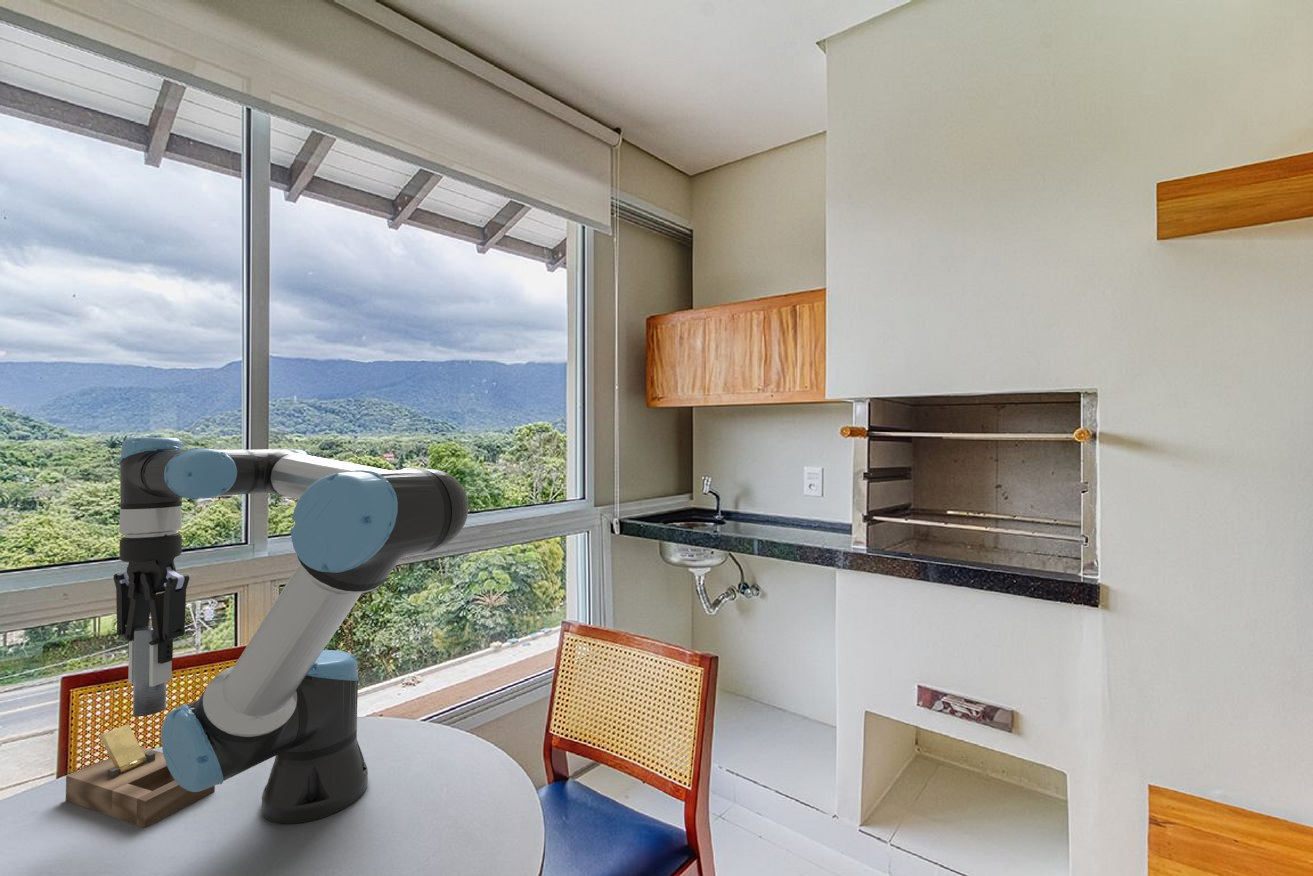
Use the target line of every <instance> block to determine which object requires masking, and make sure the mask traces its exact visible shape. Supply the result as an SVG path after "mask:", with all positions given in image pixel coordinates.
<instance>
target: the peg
mask: <svg viewBox="0 0 1313 876" xmlns="http://www.w3.org/2000/svg"><path fill="white" fill-rule="evenodd" d="M162 634H163V633H162ZM151 641H154V635H153V628H152V625H148V626H146V627H142V628H138V629H136V630H134V667H133V683H132V685H133V686H132V716H133V717H138V718H139V717H145V716H147V717H148V716H151V715H155V714H158V713H160V712H163V711H164V710H166V708H167V683H168V681H167V682H165V683H162V684H159V685H156V686H153V687H152V686H149V668H150V644H149V642H151Z"/></svg>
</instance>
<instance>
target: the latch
mask: <svg viewBox="0 0 1313 876" xmlns="http://www.w3.org/2000/svg"><path fill="white" fill-rule="evenodd" d="M99 738H100V740H101V742H102V744H103V746H104V749H105V750H106V751H107V754H108V757H109V758H111V760H112V762H113V764H114V766H115V768H118V769H119V770H118V773H119V774H120V773H122V772H125V771H127V770H129V769H131V768H134V767H136V766H138V765H141V764H143V763H145V762H146V761H147V759H146V757H145V755H144V753H143V751H142V749H141V747H142V746H140V744H139V741H138V739H137V738H136V735H135V734H134V732H133V730H132V728H131V726H130V724H129V723H128V724H125V725H122V726H119V727H117V728H114V729H111V730H109V731H106V732H104V733H102V734H101V735H100V736H99Z"/></svg>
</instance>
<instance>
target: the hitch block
mask: <svg viewBox="0 0 1313 876" xmlns="http://www.w3.org/2000/svg"><path fill="white" fill-rule="evenodd" d="M140 747H141V749H142V751H143V753H144V755H145V757H146V759H147V761H146V762H145V763H143V764H141V765H138V766H136V767H134V768H131V769H129V770H127V771H125V772H122V773H120V774H119V773H118V770H119V769H118V768H115V766H114V764H113V762H112V760H111V758H110V757H109V758H106V759H104V760H101V761H99V762H97V763H94V764H92V765H88V766H87V767H83V768H82V769H79V770H77V771H75V772H72V773H70V774H67V775H65V776H66V778H65V802H69V803H72V804H73V805H74V804H75V805H77V806H80V807H83V808H86V809H89V810H92V811H95V812H98V813H101V814H104V815H106V816H110V817H111V818H115V819H118V820H120V821H123V822H126V823H129V824H132V825H134V826H138V827H141V828H148V827H149V826H152V825H153V824H156V823H157V822H159V821H161V820H163V819H165V818H167V817H169V816H170V815H172V814H174V813H176V812H178V811H180V810H182V809H183V808H185V807H188V806H190V805H192V804H194V803H195V802H197V801H199V800H201V799H203V798H205V797H206V796H209V795H210V794H213V793H214V792H215V791H216V785H215V786H212V787H210V788H207V789H205V790H203V791H199V792H191V791H188V790H186V789H184V788H182V787H181V786H180V785H179V784H178V783H177V782H176V781H175V779H174V778H173V776H172V775H171V773H170V771H169V769H168V767H167V764H166V761H165V758H164V755H163V752H161V751H157V750H155V749H154V750H153V749H151V748H146V747H143V746H140Z"/></svg>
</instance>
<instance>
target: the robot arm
mask: <svg viewBox="0 0 1313 876" xmlns="http://www.w3.org/2000/svg"><path fill="white" fill-rule="evenodd" d="M118 463H119V464H118V465H119V468H120V470H119V477H120V478H119V479H120V480H119V481H120V482H119V485H120V486H119V487H120V488H119V489H120V493H119V494H120V496H119V497H120V499H119V500H120V502H119V503H120V509H119V529H118V530H119V533H120V534H121V535H124V537H121V539H120V540H119V560H120V561H121V562H125V563H128V564H127V567H126V570H125V571H123V572H119V573H115V574H114V575H113V580H114V581H113V582H114V585H115V589H116V591H115V594H116V599H115V601H116V635H117V636H124V639H125V640H126V641H128V642H127V656H128V676H127V677H128V679H127V680H128V684H131V685H133V667H134V630H136V629H138V628H142V627H146V626H149V625H150V624H149V623H150V621H151V626H152V628H153V635H154V641H151V642H149V644H150V668H149V686H152V687H153V686H156V685H159V684H162V683H165V682H167V683H168V682H169V681H172V679H173V678H172V676H173V675H172V673H173V672H172V671H173V670H172V669H173V668H172V666H173V663H172V662H173V659H174V658H173V656H174V654H173V653H174V651H173V650H174V641H175V640H176V639H177V638H180V637H183V636H184V635H185V633H186V632H185V630H186V606H187V605H186V604H187V601H186V600H187V589H188V585H189V581H190V575H189V574H179V573H178V572H177V569H176V566H175V561H174V560H175V558H177V557H179V556H180V555H181V554H182V551H183V550H182V549H183V546H182V545H183V535H182V534H181V533H179V532H178V531H180V530H181V529H182V505H183V499H185V498H186V499H189V500H200V499H202V500H203V499H211V498H216V497H223V496H236V495H237V496H239V495H251V494H273V495H277V496H281V497H287V498H290V499H295V500H298V501H297V503H296V504H295V507H294V510H293V512H292V517H291V521H293V522H294V525H293V527H291V528H290V538H291V543H292V547H293V550H294V551H295V558H296V561H297V563H298V565H297V567H296V568H295V570H294V572H293V573H292V574H291V575H290V577H289V579H288V581H287V582H286V584H285V586H284V587H283V589H282V590H281V592H280V593H279V595H278V597H277V598H276V599H275V601H274V602H273V604H272V606H271V607H270V609H269V610H268V612H267V613H266V615H265V617H264V618H263V620H262V621H261V623H260V625H259V626H258V628H257V629H256V631H255V633H254V635H253V636H252V637H251V639H250V641H249V642H248V643H247V645H246V647H245V648H244V650H243V651H242V653H241V655H240V656H239V658H237V659H238V660H237V661H236V662H235V664H234V666H230V667H228V668H225V669H223V670H222V671H221V672H219V673H217V675H215V677H213V679H212V680H211V681H210V682H209V683H208V684H207V686H206V688H205V689H204V691H203V692H202V694H201V695H200V697H199V698H198V699H197V700H194V701H193V702H190V703H188V704H186V703H184V704H181V705H180V706H178V707H176V708H174V709H172V710H171V711H170V712H168V713H167V714H166V716H165V717H164V719H163V722H162V724H161V731H160V741H161V742H160V743H161V747H162V748H161V749H162V753H163V755H164V758H165V761H166V764H167V767H168V769H169V771H170V773H171V775H172V776H173V778H174V779H175V781H176V782H177V783H178V784H179V785H180V786H181V787H182V788H184V789H186V790H188V791H191V792H199V791H203V790H205V789H207V788H210V787H212V786H215V787H216V786H218V785H222V784H223V783H224V782H225V781H227V780H229V779H231V778H233V777H235V776H237V775H239V774H241V773H244V772H245V771H248V770H249V769H252V768H254V767H256V766H257V765H261V763H264V762H266V761H267V760H269V759H272V758H273V757H274V761H273V765H272V767H271V769H270V774H269V777H268V780H267V783H266V785H265V787H264V789H263V792H262V795H261V813H262V816H263V817H264V818H266V820H268V821H271V822H273V823H279V824H297V823H299V824H300V823H307V822H311V821H315V820H318V819H321V818H324V817H329V816H330V815H333V814H335V813H337V812H339V811H341V810H344V809H345V808H347V807H348V806H350V805H351V804H353V803H354V802H356V801H357V800H358V799H359V798H361V796H362V795H363V794H364V792H365V791H366V789H367V788H368V783H369V779H368V778H369V773H368V772H369V771H368V766H367V764H366V761H365V758H364V755H363V752H362V749H361V747H360V744H359V741H358V733H357V732H358V697H359V696H358V692H359V691H358V689H359V679H360V677H359V676H358V675H359V674H358V660H357V658H356V656H355V655H353V654H352V653H350V652H346V651H343V650H333V649H325V648H326V647H327V646H328V644H329V642H330V641H331V639H332V638H333V637H334V635H335V634H336V632H338V631H337V630H338V629H339V628H340V626H341V625H342V623H343V622H344V620H345V619H346V618H347V616H348V614H349V613H350V611H351V610H352V608H353V607H354V606H355V604H356V602H357V601H358V600H359V599H360V597H361V595H362V594H364V593H365V594H366V593H369V592H373V591H375V590H376V589H378V588H379V587H380V586H381V585H383V584H384V582H385V581H386V580H387V578H388V577H389V575H390V574H391V573H392V571H393V570H394V568H395V567H396V566H397V564H398V563H399V561H400V560H401V559H403V558H405V557H409V556H413V555H418V554H422V553H423V554H424V553H426V552H431V551H435V550H438V549H440V548H442V547H444V546H446V545H448V544H449V543H451V542H452V541H453V540H454V539H455V538H456V537H457V536H458V535H459V534H460V533H461V531H462V530H463V528H464V526H465V524H466V522H467V518H468V515H469V500H468V499H469V498H468V495H467V493H466V490H465V488H464V487H463V486H462V484H461V483H460V482H459V481H458V480H457V478H455V477H454V476H453V475H451V474H449V473H447V472H445V471H442V470H439V469H433V468H415V467H406V468H402V469H395V470H389V469H385V468H380V467H379V468H378V467H373V466H370V465H369V466H368V465H363V464H358V463H353V462H347V461H341V460H336V459H335V460H334V459H330V458H324V457H320V456H319V457H318V456H314V455H313V456H312V455H309V453H308V452H306V451H304V450H302V449H292V448H279V449H277V448H276V449H275V448H274V449H271V448H270V449H269V448H268V449H246V448H244V449H238V448H237V449H236V448H235V449H234V448H214V449H213V448H209V447H208V448H199V447H193V448H187V449H186V448H185V449H184V447H183V443H182V441H181V440H180V439H179V438H176V437H129V438H126V439H124V440H123V441H122V443H121V450H120V459H119V461H118ZM150 619H151V620H150ZM162 633H163V634H162Z"/></svg>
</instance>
